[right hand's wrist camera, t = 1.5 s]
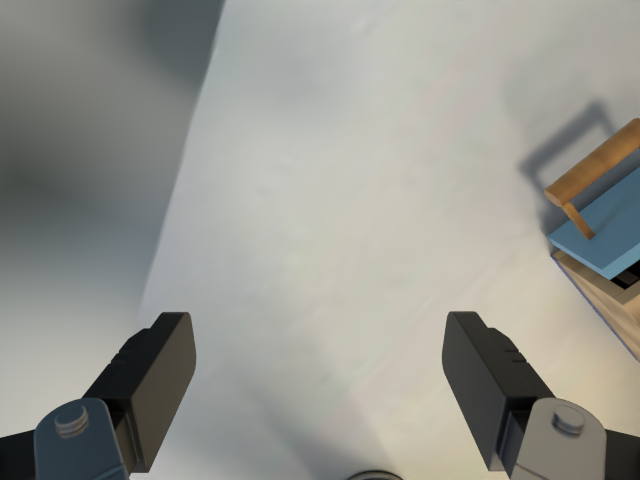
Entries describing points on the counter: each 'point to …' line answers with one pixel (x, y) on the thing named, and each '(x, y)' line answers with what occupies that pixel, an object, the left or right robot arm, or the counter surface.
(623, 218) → the drawer
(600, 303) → the cabinet
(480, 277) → the counter surface
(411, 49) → the counter surface
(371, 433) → the counter surface
